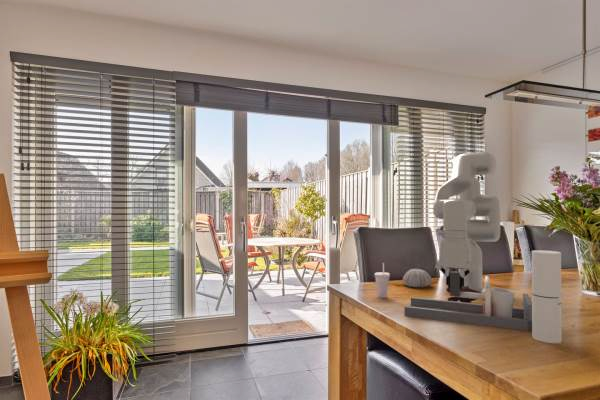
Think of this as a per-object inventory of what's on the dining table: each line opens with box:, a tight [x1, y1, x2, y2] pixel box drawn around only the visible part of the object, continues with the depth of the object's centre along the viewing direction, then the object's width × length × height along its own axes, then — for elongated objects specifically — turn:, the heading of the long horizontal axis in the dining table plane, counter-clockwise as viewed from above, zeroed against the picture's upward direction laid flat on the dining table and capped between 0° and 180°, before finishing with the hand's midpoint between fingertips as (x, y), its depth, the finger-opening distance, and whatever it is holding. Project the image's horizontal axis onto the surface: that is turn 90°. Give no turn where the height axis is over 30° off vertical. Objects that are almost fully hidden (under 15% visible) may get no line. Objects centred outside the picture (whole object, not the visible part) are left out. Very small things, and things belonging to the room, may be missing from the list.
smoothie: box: [374, 262, 391, 299], centre depth 157 cm, size 6×6×14 cm
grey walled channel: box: [404, 275, 532, 332], centre depth 129 cm, size 15×38×13 cm, turn 65°
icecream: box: [446, 286, 481, 303], centre depth 146 cm, size 7×8×15 cm
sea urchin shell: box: [402, 268, 433, 288], centre depth 178 cm, size 13×14×8 cm
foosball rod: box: [449, 270, 492, 316], centre depth 129 cm, size 9×13×14 cm
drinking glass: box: [491, 287, 515, 318], centre depth 125 cm, size 7×7×10 cm
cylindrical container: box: [531, 249, 563, 344], centre depth 108 cm, size 7×7×25 cm
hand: (455, 287), depth 131 cm, fingers closed on foosball rod, 3 cm apart
